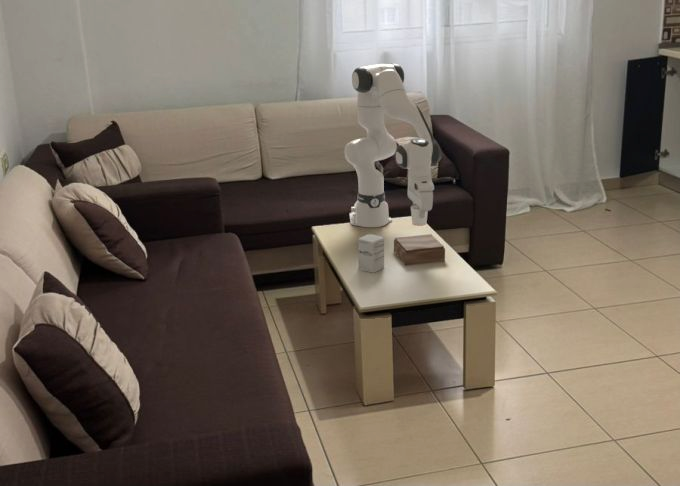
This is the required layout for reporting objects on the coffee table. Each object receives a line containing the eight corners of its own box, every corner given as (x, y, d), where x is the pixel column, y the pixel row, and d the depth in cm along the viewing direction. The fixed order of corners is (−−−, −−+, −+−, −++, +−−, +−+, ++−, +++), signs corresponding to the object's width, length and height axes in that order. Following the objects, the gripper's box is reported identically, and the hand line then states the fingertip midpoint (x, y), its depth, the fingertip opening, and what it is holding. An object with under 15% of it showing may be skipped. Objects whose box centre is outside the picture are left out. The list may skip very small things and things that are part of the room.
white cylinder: (426, 226, 334) (427, 209, 331) (409, 226, 335) (409, 208, 333) (429, 221, 340) (429, 204, 338) (411, 220, 341) (411, 203, 339)
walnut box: (393, 251, 348) (393, 237, 346) (431, 247, 351) (431, 233, 349) (405, 265, 333) (405, 250, 331) (444, 261, 336) (445, 246, 334)
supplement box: (357, 269, 330) (357, 238, 326) (369, 263, 336) (369, 233, 331) (373, 273, 326) (372, 242, 321) (384, 267, 331) (384, 236, 327)
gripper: (403, 175, 341) (403, 208, 345) (419, 188, 322) (419, 223, 326) (418, 173, 342) (418, 207, 347) (435, 187, 323) (435, 222, 328)
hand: (419, 215), depth 336 cm, fingers closed on white cylinder, 5 cm apart
